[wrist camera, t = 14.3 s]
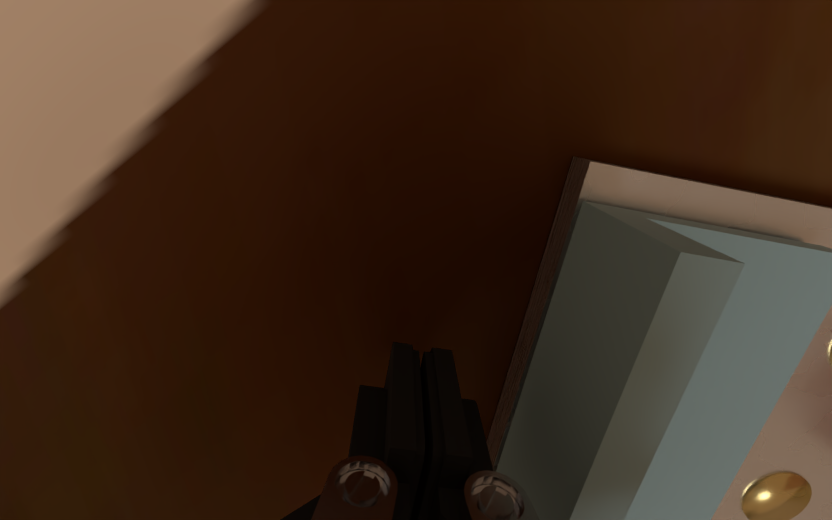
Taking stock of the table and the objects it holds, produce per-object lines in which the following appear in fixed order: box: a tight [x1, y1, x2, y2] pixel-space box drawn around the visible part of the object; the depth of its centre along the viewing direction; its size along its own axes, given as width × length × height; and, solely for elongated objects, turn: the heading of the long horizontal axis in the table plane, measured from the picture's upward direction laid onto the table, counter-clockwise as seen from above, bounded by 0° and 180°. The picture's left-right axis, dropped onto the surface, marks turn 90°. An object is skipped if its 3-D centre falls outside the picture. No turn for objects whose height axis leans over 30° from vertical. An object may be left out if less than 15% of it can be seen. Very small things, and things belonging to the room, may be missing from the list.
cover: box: [496, 201, 832, 520], centre depth 12 cm, size 7×12×4 cm, turn 169°
